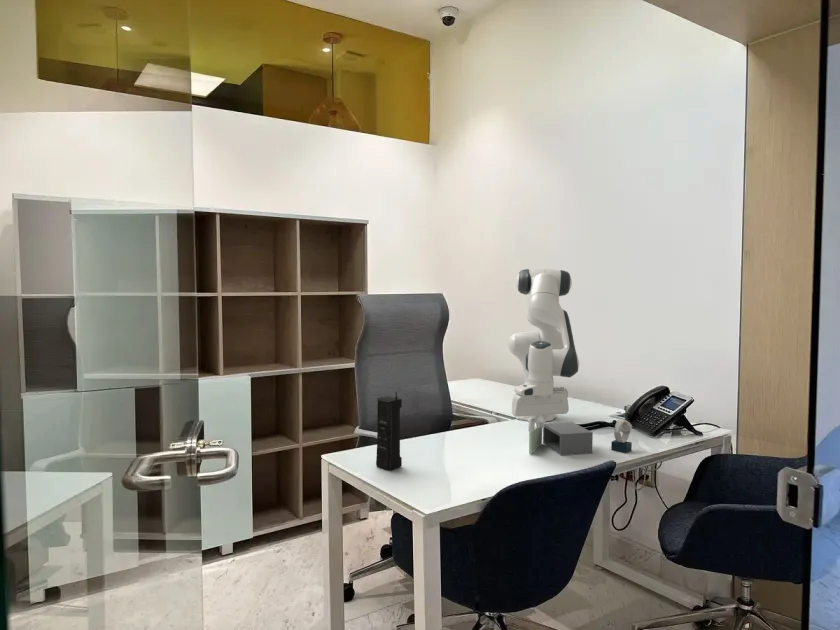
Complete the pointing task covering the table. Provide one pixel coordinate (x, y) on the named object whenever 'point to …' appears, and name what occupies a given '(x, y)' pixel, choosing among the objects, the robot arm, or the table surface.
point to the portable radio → (388, 433)
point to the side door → (534, 436)
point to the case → (567, 438)
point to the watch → (621, 442)
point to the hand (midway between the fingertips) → (540, 427)
